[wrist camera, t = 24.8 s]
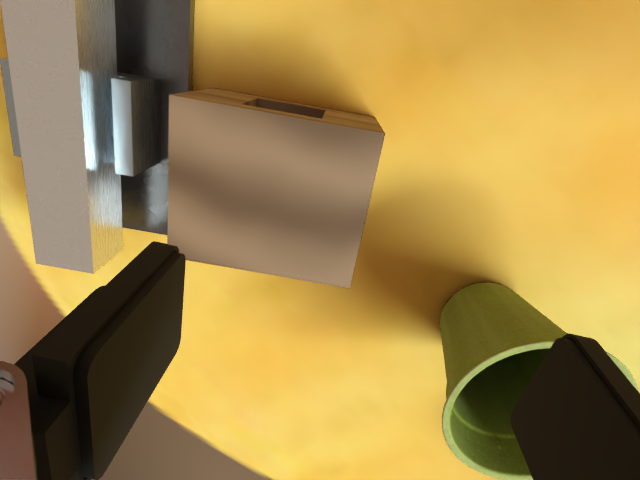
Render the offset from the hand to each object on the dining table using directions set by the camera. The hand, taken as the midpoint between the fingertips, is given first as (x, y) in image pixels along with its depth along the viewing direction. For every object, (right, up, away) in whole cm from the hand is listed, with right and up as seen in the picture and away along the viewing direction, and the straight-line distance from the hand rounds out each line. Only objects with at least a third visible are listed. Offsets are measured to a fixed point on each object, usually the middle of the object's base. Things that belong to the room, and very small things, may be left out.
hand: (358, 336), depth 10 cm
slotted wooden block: (-4, +8, +21) cm, 23 cm away
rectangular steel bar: (-17, +10, +17) cm, 26 cm away
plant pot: (+13, -4, +25) cm, 29 cm away
